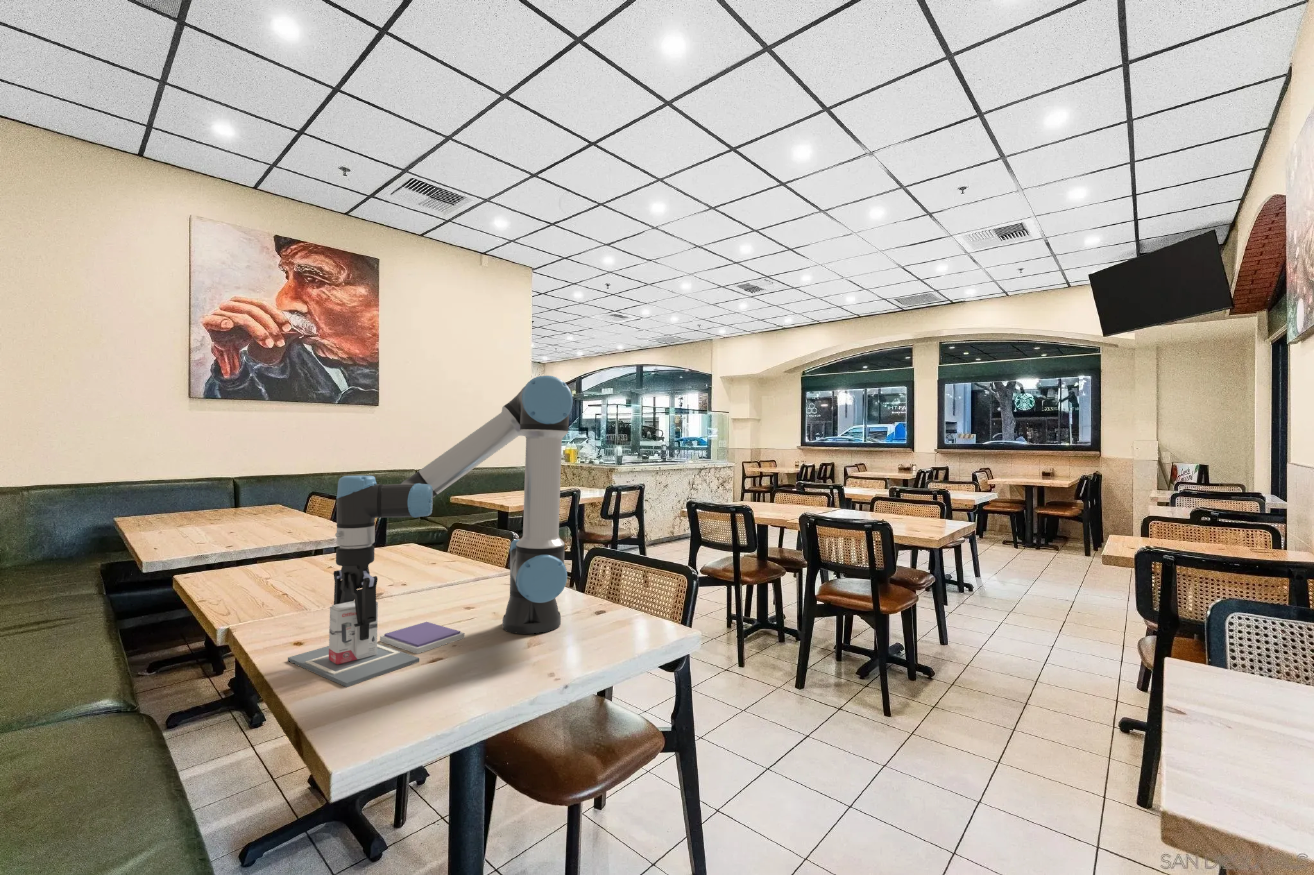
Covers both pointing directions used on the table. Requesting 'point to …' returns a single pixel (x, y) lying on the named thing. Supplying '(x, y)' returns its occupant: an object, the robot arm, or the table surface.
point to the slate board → (353, 664)
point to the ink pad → (421, 637)
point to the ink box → (348, 633)
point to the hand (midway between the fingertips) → (353, 650)
